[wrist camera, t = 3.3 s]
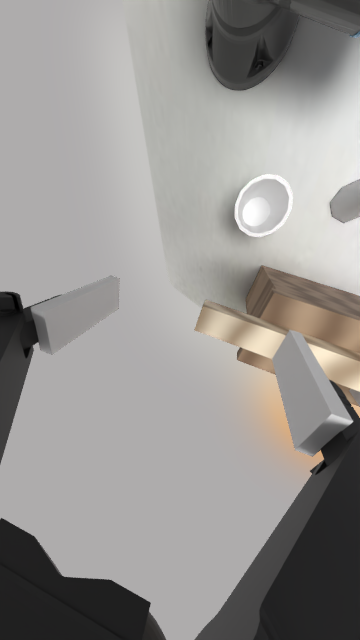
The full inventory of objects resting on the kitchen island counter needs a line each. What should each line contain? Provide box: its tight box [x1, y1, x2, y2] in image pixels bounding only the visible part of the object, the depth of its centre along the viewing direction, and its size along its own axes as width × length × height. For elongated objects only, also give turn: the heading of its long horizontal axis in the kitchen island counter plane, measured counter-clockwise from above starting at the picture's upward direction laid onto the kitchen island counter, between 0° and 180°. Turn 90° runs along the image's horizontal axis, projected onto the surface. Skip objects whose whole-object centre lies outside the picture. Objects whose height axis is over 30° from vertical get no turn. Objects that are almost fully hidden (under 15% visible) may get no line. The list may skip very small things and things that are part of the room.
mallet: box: [195, 300, 360, 406], centre depth 24 cm, size 33×8×5 cm, turn 75°
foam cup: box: [235, 174, 293, 237], centre depth 38 cm, size 10×9×13 cm
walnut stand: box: [237, 266, 360, 407], centre depth 37 cm, size 28×12×28 cm, turn 75°
